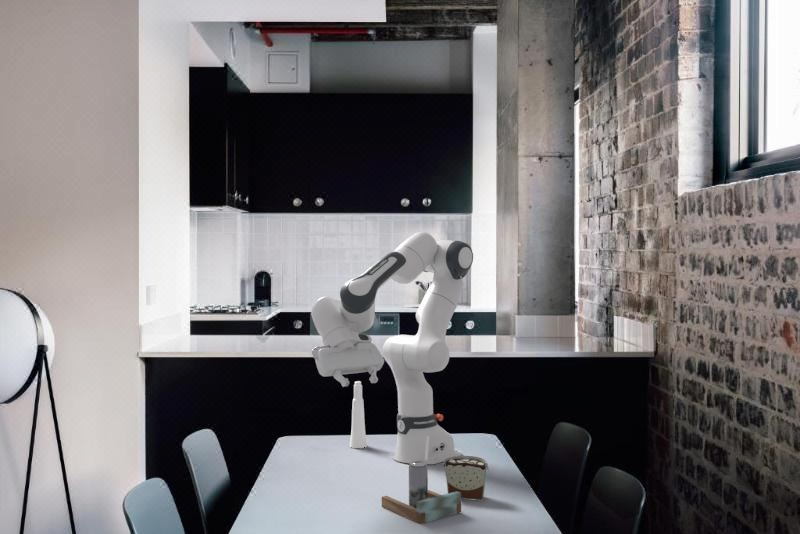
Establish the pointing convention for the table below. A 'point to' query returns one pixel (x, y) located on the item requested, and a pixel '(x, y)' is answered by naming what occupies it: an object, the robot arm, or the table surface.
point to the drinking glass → (418, 482)
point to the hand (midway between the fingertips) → (360, 383)
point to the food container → (466, 476)
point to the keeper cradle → (426, 507)
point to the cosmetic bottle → (358, 419)
